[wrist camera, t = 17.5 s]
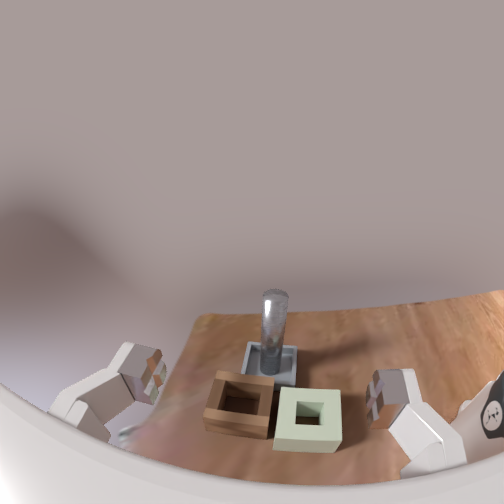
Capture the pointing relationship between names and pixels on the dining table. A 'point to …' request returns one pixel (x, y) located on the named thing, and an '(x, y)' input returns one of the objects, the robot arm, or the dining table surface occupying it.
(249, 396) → the brown wooden square frame
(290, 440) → the sage block
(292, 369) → the tray
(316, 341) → the dining table surface
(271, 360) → the cylinder
